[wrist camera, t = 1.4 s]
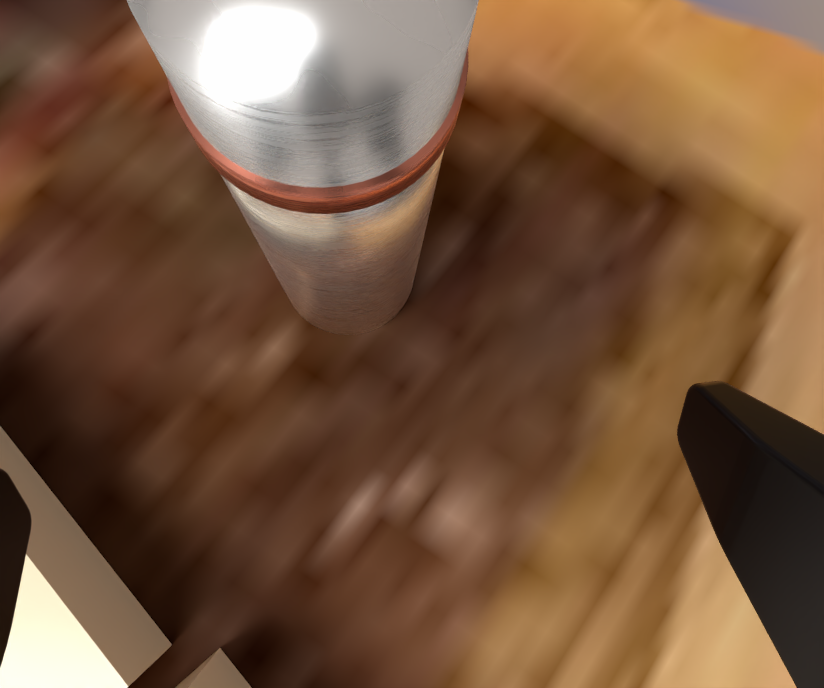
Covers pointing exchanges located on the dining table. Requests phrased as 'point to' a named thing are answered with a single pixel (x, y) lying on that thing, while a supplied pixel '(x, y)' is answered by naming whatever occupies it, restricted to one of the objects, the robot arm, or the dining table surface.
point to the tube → (322, 132)
